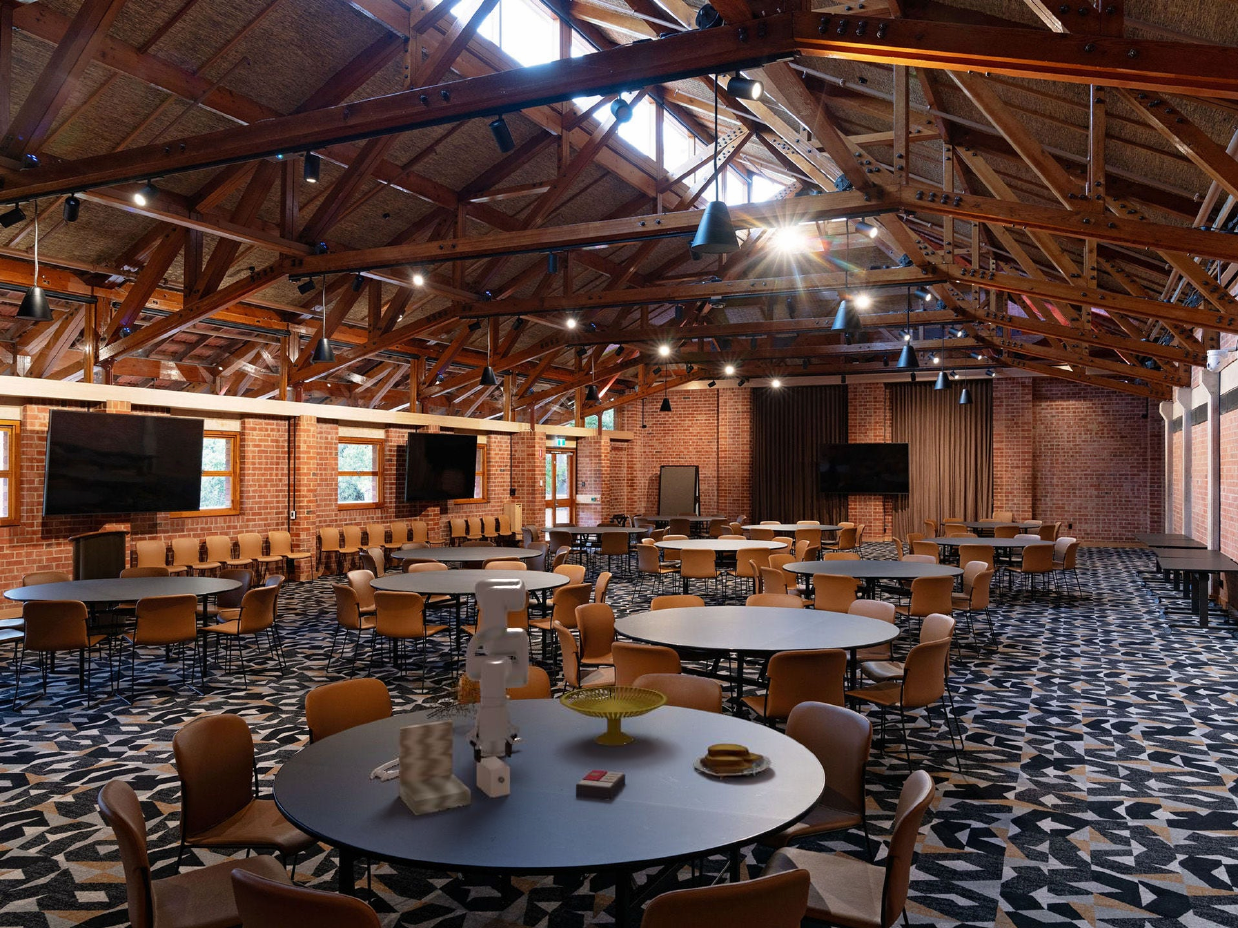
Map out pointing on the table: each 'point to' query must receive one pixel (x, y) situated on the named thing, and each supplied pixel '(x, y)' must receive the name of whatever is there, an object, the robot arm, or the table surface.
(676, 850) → the table surface
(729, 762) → the food on plate
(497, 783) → the pale taupe block
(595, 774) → the small patterned box
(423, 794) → the beige zigzag bookend
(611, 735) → the yellow pedestal fruit bowl
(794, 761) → the table surface
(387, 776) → the door handle
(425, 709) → the dried plant
